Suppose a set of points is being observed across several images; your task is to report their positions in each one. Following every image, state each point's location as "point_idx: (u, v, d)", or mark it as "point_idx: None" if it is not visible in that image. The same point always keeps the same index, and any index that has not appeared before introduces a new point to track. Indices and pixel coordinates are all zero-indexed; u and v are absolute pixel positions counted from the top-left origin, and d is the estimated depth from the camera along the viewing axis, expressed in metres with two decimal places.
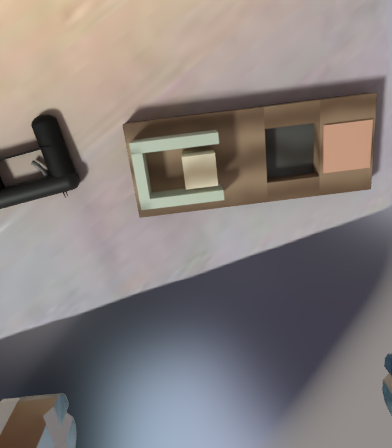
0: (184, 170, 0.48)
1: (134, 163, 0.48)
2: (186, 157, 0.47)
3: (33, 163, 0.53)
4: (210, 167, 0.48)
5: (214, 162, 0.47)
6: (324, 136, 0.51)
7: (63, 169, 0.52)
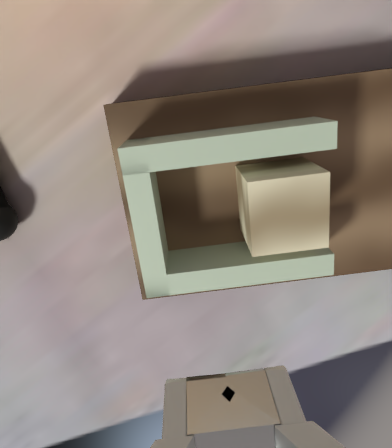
0: (252, 213, 0.20)
1: (130, 196, 0.20)
2: (259, 183, 0.19)
3: None
4: (314, 205, 0.20)
5: (326, 194, 0.19)
6: None
7: None
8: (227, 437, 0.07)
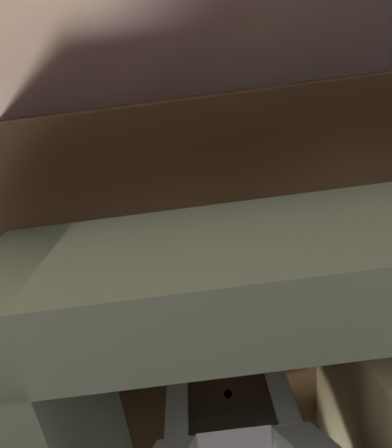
0: None
1: None
2: None
3: None
4: None
5: None
6: None
7: None
8: (229, 437, 0.07)
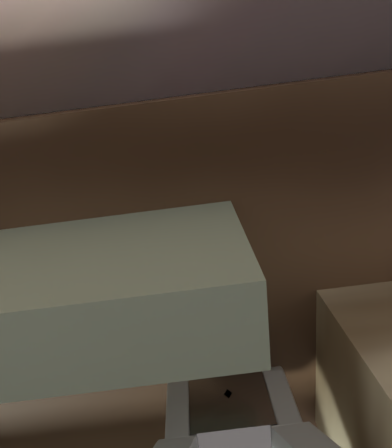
0: None
1: None
2: None
3: None
4: None
5: None
6: None
7: None
8: (230, 437, 0.07)
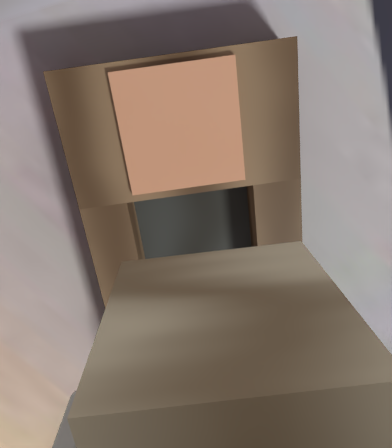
0: None
1: None
2: None
3: None
4: None
5: (164, 419, 0.05)
6: (157, 189, 0.22)
7: None
8: None
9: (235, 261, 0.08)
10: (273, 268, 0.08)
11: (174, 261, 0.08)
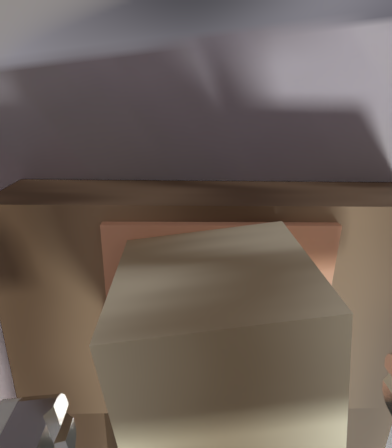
0: None
1: None
2: None
3: None
4: (201, 371, 0.06)
5: (163, 346, 0.06)
6: None
7: None
8: None
9: (224, 237, 0.10)
10: (256, 241, 0.09)
11: (172, 238, 0.10)
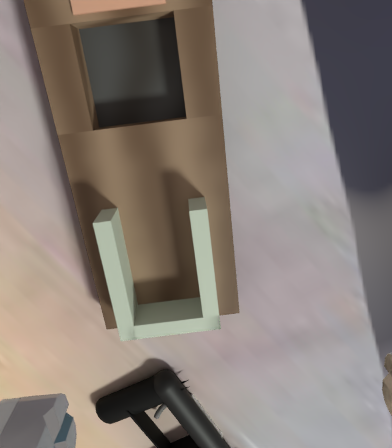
0: None
1: (149, 335, 0.33)
2: None
3: (156, 416, 0.44)
4: None
5: None
6: (94, 11, 0.27)
7: (151, 395, 0.41)
8: None
9: None
10: None
11: None
